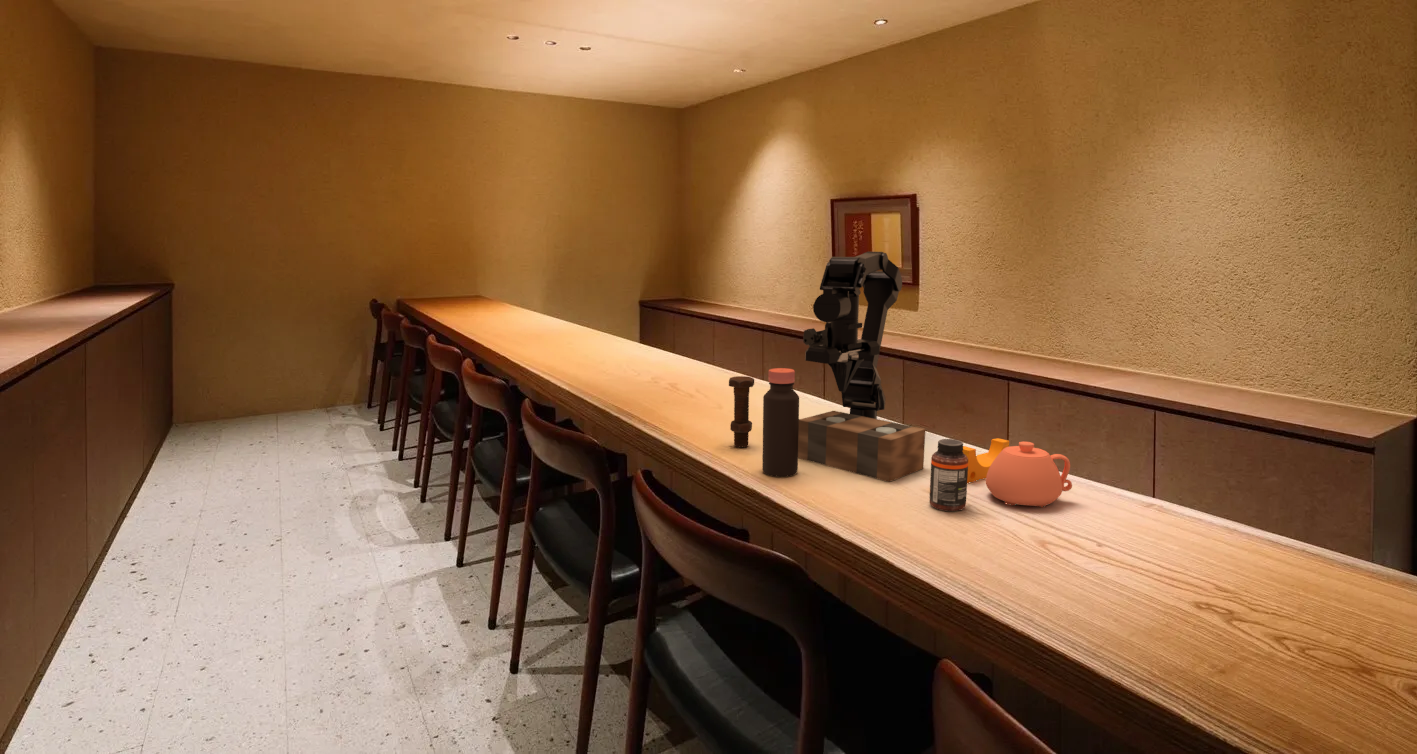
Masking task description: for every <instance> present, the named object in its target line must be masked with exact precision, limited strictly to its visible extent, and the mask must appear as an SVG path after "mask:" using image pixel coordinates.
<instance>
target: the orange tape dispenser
mask: <svg viewBox="0 0 1417 754" xmlns="http://www.w3.org/2000/svg"><path fill="white" fill-rule="evenodd" d="M1006 447H1010V440H1008V439H1003V438H993V439H991V442H990V446H989V449H988V451H987V452H984V453H980V454H977V450H976V448H973V447H969V446H966V445H963V453H964V454H965V455H966V456H967V457H968V477H967V483H968V484H970V483H969V482H972V483H974V482H973V481H975V482H977V481H976V480H979V479H983V478H986V476H987V473H988V470H989V468H990V466H991V464H992V463H993V461H994V460H995V458H996V457H997V456H998V455H999V453H1000V452H1001V451H1002V450H1003V449H1004V448H1006ZM983 480H984V479H983ZM979 481H980V480H979Z"/></svg>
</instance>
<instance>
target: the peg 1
mask: <svg viewBox="0 0 1417 754" xmlns="http://www.w3.org/2000/svg"><path fill="white" fill-rule="evenodd" d="M826 421H831V422H836V423H840V422H843V421H845V419H844V418H842V417H828V418H826Z"/></svg>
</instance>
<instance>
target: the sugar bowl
mask: <svg viewBox="0 0 1417 754" xmlns="http://www.w3.org/2000/svg"><path fill="white" fill-rule="evenodd" d="M1054 460H1063V462H1064V467H1063V470H1062V473H1060V471H1059V468H1058V466H1057V465H1056V463H1055V462H1054ZM1070 469H1071V462H1070V459H1069V458H1068V457H1067V456H1065V455H1064V454H1060V453H1054V454H1051V455H1050V453H1049V452H1047V450H1044V449H1041V448H1039V447H1035V443H1034V442H1030V441H1019V442H1018V445H1012V446H1011V445H1009V447H1006V448H1004V449H1003V450H1002V451H1001V452H1000V453H999V455H998V456H997V457H996V458H995V460H994V461H993V463H992V464H991V466H990V468H989V470H988V473H987V476H986V479H985V485H986V487H987V490H988V491H990V493H991V494H992V496H993V497H994V498H996V499H998V500H1000V501H1003V502H1004V504H1005V503H1007V504H1011V505H1010V506H1016V505H1015V504H1017V505H1021V506H1033V507H1034V506H1035V507H1038V506H1042V507H1041V508H1044V507H1043V506H1046V507H1047V505H1050V504H1052V503H1053V502H1054V501H1057V500H1058V498H1060V496H1061V495H1062V493H1063V492H1068V491H1071V490H1072V488H1073V484H1072V481H1071V479H1067V477H1068V476H1069V473H1070ZM1065 484H1067V485H1065ZM1007 504H1006V505H1007Z"/></svg>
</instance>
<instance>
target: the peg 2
mask: <svg viewBox="0 0 1417 754" xmlns="http://www.w3.org/2000/svg"><path fill="white" fill-rule="evenodd" d="M876 431H878V432H883V433H887V434H891V433H894V432H896V429H894V428H890V427H878V428H876Z"/></svg>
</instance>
